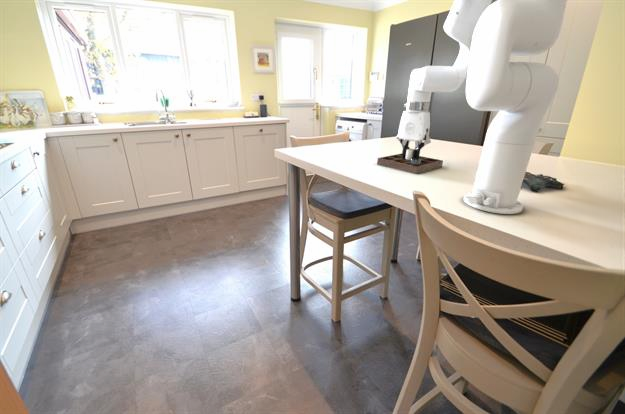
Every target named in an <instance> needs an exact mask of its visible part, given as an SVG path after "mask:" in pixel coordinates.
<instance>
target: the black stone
mask: <svg viewBox="0 0 625 414" xmlns="http://www.w3.org/2000/svg"><path fill="white" fill-rule="evenodd" d="M410 165H413V166H420V165H421V159H419V158H411V159H410Z"/></svg>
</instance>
